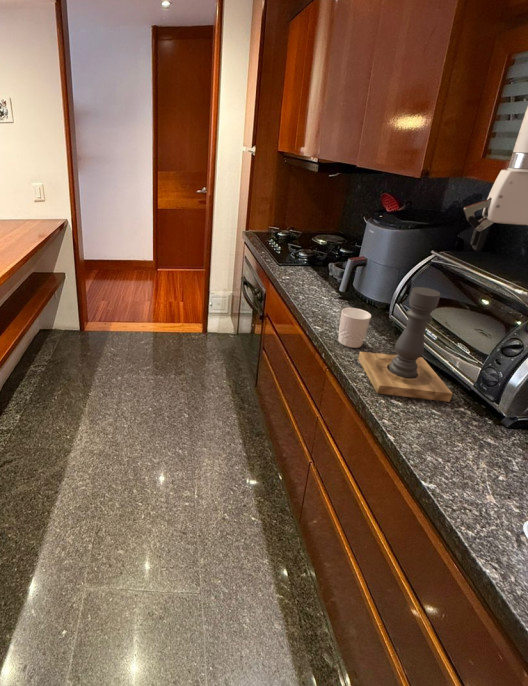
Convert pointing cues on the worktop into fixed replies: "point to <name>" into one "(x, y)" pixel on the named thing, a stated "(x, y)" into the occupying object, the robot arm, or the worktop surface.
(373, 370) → the base pad
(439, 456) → the worktop surface
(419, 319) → the candle holder
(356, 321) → the white cup
